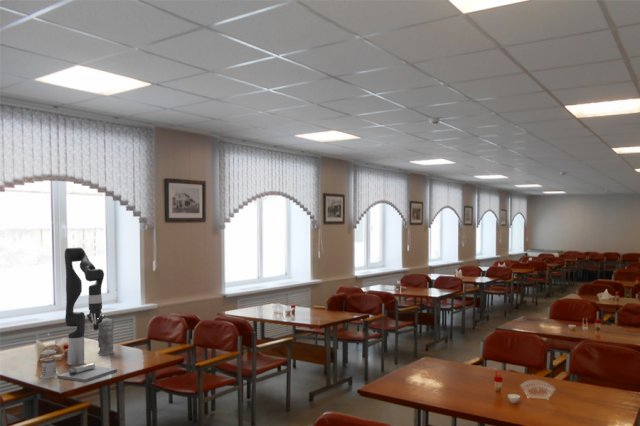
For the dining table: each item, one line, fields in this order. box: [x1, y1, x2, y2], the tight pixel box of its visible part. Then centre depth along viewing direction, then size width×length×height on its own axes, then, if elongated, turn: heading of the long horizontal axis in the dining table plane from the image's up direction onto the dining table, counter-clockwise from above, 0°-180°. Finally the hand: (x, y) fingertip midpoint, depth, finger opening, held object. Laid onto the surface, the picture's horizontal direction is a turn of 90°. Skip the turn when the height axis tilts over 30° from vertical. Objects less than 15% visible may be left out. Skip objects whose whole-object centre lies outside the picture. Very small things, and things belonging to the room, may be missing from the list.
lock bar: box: [68, 362, 96, 374], centre depth 301 cm, size 16×4×2 cm, turn 153°
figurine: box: [97, 317, 115, 356], centre depth 353 cm, size 10×14×25 cm
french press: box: [39, 332, 59, 379], centre depth 301 cm, size 10×12×25 cm
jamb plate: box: [56, 361, 118, 383], centre depth 300 cm, size 23×23×4 cm
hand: (96, 329), depth 309 cm, fingers closed
